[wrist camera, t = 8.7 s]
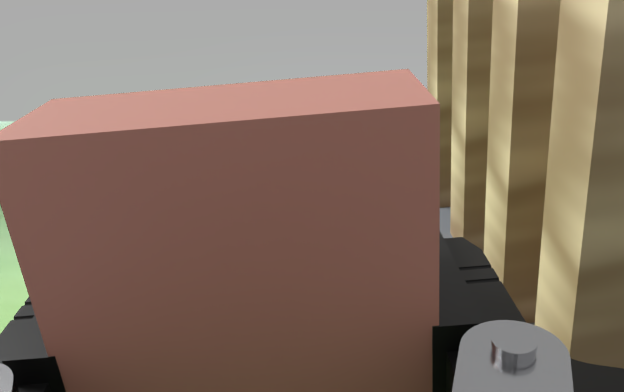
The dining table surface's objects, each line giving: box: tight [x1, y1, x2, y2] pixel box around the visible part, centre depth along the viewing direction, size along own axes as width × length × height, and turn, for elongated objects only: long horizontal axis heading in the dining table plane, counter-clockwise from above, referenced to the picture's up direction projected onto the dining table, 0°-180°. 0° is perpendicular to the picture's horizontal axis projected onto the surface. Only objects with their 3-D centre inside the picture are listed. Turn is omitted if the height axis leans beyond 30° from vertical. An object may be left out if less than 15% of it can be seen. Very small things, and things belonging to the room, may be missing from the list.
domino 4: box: [484, 0, 561, 323], centre depth 17 cm, size 2×5×10 cm, turn 92°
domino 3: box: [450, 0, 493, 253], centre depth 21 cm, size 2×5×10 cm, turn 91°
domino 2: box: [427, 0, 453, 208], centre depth 26 cm, size 2×5×10 cm, turn 91°
